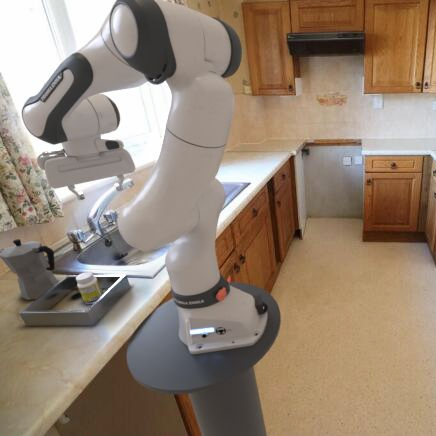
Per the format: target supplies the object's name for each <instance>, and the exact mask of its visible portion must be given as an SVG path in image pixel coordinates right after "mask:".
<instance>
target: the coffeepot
mask: <svg viewBox="0 0 436 436" xmlns="http://www.w3.org/2000/svg"><path fill="white" fill-rule="evenodd" d="M21 241H22V240H21V239H20V238H18V239H14V240H12V243H13V244H14V245H12V246H8V247H4V248H1V249H0V259H1V261H3V262H4V264H5V265H6V266H7V268H8V269H9V270H10V271H11V272H12V273H13V274H15V275H16V277H17V283H18V286H19V291H20V295H21V298H23V299H25V300H27V301H35V300H36V299H37V298H39V297H40V296H41V295H43V294H44V293H45V292H47V291H48V290H49V289H50V288H52V287H53V286H54V285H56V284H57V283H58V282H60V280H59V279H58V278H57V277H56V276H55V275H54V273H53V272H52V271H54V270H56V266H55V251H54V250H53V249H52V248H51V247H49V246H47V245H43V244H42V242H40V241H35V240H33V241H32V240H31V241H26V242H21ZM45 254H46V257H47V260H46V257H45ZM46 263H47V264H48V266H49V267H47V266H46Z"/></svg>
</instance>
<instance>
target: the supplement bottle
mask: <svg viewBox="0 0 436 436" xmlns="http://www.w3.org/2000/svg"><path fill="white" fill-rule="evenodd" d="M94 275H95V274H94V273H93V271H85V272H82V273H79V274H78V276H77V275H76V276H77V277H76V281H77V283H78V284H77V286H78V289H77V290H78V291H79V293H81V295H82V297H81V298H82V299H83V302H84V303H85V304H87V305H93V304H94V303H95V302H96V301H97V300H98V299H99V298H100V297H101V296H102V295H103V294H104V292H103V290H102V289H101V288H100V285H99V283H98V280H97V279H96V278H95V277H94Z"/></svg>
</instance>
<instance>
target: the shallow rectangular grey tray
mask: <svg viewBox="0 0 436 436" xmlns="http://www.w3.org/2000/svg"><path fill="white" fill-rule="evenodd" d="M78 275H79V274H78ZM78 275H66V276H65V277H64V278H62V279H61V280H59V282H58V283H57V284H56V285H54V286H53V287H52V288H50V289H49V290H48V291H47V292H45V293H44V294H43V295H41V296H40V297H39V298H37V299H34V300H32V302H31V303H29V304H28V305H27V306H25V307H24V308H23V309H22V310H20V311H19V312H18V314H19V316H20V318H21V320H22V321H23V324H24V325H25V326H26V327H58V326H59V327H60V326H64V327H68V326H72V327H73V326H74V327H75V326H95V325H96V324H97V322H99V321H100V319H101V318H103V316H104V315H105V314H106V313H107V312H108V311H109V310H110V309H111V308H112V307H113V306H114V305H115V303H116V302H118V300H119V299H120V298H122V296H123V295H124V294H125V293H126V292H127V291H128V290H129V289H130V288H131V283H130V281H129V279H128V276H127V274H93V275H94V277H95V278H96V279H97V280H98V283H99V285H100V288H101V290H102V289H103V290H104V289H107V290H106V291H105V292H103V295H102V296H101V297H100V298H99V299H98V300H97V301H96V302H95V303H92V304H91V305H90V306H89V307H88V308H87V309H65V310H64V309H63V310H61V309H58V310H54V309H53V310H50V309H51V308H52V307H54V306H55V305H56V304H57V303H58V302H60V301H61V300H62V299H63V298H64V297H66V296H67V295H68V294H69V293H70V292H72V291H73V290H79V289H78V286H77V284H78V283H77V281H76V277H77V276H78ZM81 298H83V297H82V295H81V293H80V292H77V293H74V294H73V295H71V297H70V299H71V300H78V299H81Z"/></svg>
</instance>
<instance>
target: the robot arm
mask: <svg viewBox="0 0 436 436" xmlns="http://www.w3.org/2000/svg"><path fill="white" fill-rule="evenodd" d="M242 57H243V47H242V42H241V39H240V37H239V34H238V33H237V31H236V30H235V29H234V27H232V26H231V25H229V24H228V23H227V22H225V21H224V20H222V19H220V18H218V17H214V16H209V15H207V14H205V13H202V12H200V11H197V10H195V9H192V8H190V7H189V6H186V5H183V4H180V3H176V2H171V1H166V0H115V2H114V3H113V5H112V7H111V9H110V12H109V13H108V14H107V16H106V17H105V19H104V21H103V23H102V25H101V27H100V28H99V29H98V31H97V33H96V34H95V35H94V36H93V37H92V38H91V39H90V40H89V41H88V42H86V44H84V45H83V46H82V47H80V48H79V49H78V50H77V51H76V52H73V53H71V54H70V55H69V56H68V57H66V58H64V60H63V61H62V62H61V63H60V64H59V65H58V66H57V68H56V69H55V70H54V72H53V73H51V76H49V78H48V80H47V81H46V82H45V83H44V84H43V86H42V88H41V89H40V90H39V91H38V93H37V94H35V95H33V96H29V97H28V99H27V100H26V101H24V104H23V106H22V109H21V119H22V121H23V124H24V126H25V128H26V130H27V131H28V133H30V135H31V136H33V137H34V138H36V139H38V140H40V141H43V142H45V143H47V144H50V145H54V146H56V145H58V144H61V146H62V148H61V149H55V150H50V151H47V150H46V151H42V152H41V153H40V154H39V155H38V156H37V157H36V162H37V165H38V167H39V168H40V169H41V170H43V171H44V175H45V177H46V181H47V185H48V186H49V187H50V188H52V189H61V188H66V187H67V189H68V190H69V191H70V192H71V193H73V194H74V195H76V198H77V200H78V201H83V200H85V199H86V197H85V195H84V193H83V191H80V192H78V191H77V190H76V186H75V185H80V184H84V183H90V182H95V181H98V180H99V181H100V180H104V179H108V178H113V177H116V178H117V179H118V181H117V183H115V184H114V187H115V190H116V191H117V192H122V191H124V187H123V184H124V181H125V176H124V175H127V174H133V173H134V172H135V171H136V169H137V168H136V164H135V163H134V160H133V157H132V155H131V154H130V152H129V151H128V150H127V149H125V144H124V142H123V141H122V139H119V138H115V137H109V136H102V135H107V134H109V133H110V134H111V133H112V132H115V131H117V130H118V128H119V126H120V124H121V114H120V110H119V108H118V105H117V104H116V103H115V101H113V99H111V97H109V96H107V95H106V94H104V93H110V92H116V91H122V90H129V89H134V88H138V87H141V86H143V85H144V84H146V83H147V82H148V83H150V84H152V85H154V86H155V85H162V84H163V83H165V85H166V86H167V89H168V91H169V105H168V109H167V113H166V117H165V122H164V127H163V132H162V139H161V143H160V147H159V151H158V154H157V157H156V160H155V163H154V165H153V166H152V168H151V170H150V172H149V173H148V175H147V177H146V179H145V180H144V182H143V184H142V185H141V187H140V188H139V190H138V191H137V193H136V194H135V195H134V197H133V198H131V200H130V201H129V202H128V203H127V204H126V205H125V206H124V207H123V208H122V209H121V210H120V211H119V212H118V215H117V221H116V222H117V223H116V224H117V229H118V232H119V234H120V236H121V238H122V239H123V240H124V242H125V243H126V244H128V246H130V247H132V248H134V249H135V250H138V251H141V252H152V251H156V250H158V249H160V248H161V249H162V248H164V247H165V246H168V245H170V246H169V248H168V249H167V252H166V255H165V260H164V264H165V268H166V272H167V275H168V278H169V282H170V285H171V286H170V291H171V295H172V298H173V300H174V303H175V304H176V305H177V308H178V314H179V338H180V340H181V341H182V342H183V343H184V344H185V345H187V346H188V349H189V352H190V353H191V354H201V353H207V352H214V351H220V350H227V349H233V348H240V347H246V346H252V345H254V344H255V343H256V342H257V341H258V340H259V339H260V338H261V336H262V334H263V333H264V330H265V328H266V324H267V319H268V314H267V309H268V306H267V304H266V303H264V302H262V296H261V295H258V296H254V298H253V296H252V295H250V294H248V293H245V292H243V291H241V290H239V289H237V288H234V287H232V286H230V285H229V283H230V282H231V280H232V278H231V275H228V277H227V279H226V278H225V277H224V275H223V274H222V273H221V272H220V268H219V263H218V257H217V251H216V241H217V240H216V239H217V230H218V224H219V218H220V215H221V212H222V210H223V208H224V206H225V205H226V199H227V195H226V190H225V187H224V186H223V184H222V183H221V181H220V180H219V179H218V178H217V177H216V176H217V175H218V173H219V169H220V166H221V163H222V160H223V157H224V153H225V150H226V148H227V147H226V146H227V143H228V140H229V137H230V134H231V129H232V125H233V120H234V113H235V112H234V111H235V102H236V100H235V99H236V97H235V96H236V95H235V91H234V89H233V87H232V85H231V84H230V83H229V82H228V81H227V79H228V78H230V77H232V76H233V75H235V74H236V73H237V72H238V70H239V68H240V66H241V63H242ZM256 335H257V336H256Z"/></svg>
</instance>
